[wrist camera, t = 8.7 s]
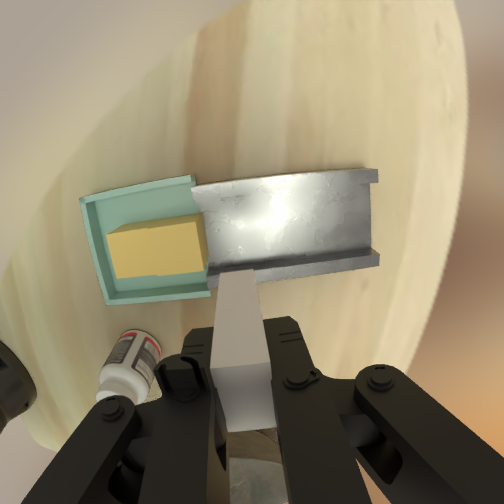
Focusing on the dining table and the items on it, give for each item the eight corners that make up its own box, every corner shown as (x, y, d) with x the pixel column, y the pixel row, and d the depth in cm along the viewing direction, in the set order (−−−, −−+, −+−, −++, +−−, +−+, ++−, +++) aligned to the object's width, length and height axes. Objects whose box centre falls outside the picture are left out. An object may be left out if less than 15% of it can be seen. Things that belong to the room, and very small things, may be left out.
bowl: (152, 441, 37) (140, 490, 27) (203, 376, 33) (194, 440, 23) (251, 474, 40) (253, 519, 31) (321, 420, 36) (336, 474, 27)
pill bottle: (119, 358, 32) (91, 413, 22) (120, 323, 30) (85, 377, 21) (160, 369, 32) (141, 429, 23) (164, 335, 31) (141, 395, 21)
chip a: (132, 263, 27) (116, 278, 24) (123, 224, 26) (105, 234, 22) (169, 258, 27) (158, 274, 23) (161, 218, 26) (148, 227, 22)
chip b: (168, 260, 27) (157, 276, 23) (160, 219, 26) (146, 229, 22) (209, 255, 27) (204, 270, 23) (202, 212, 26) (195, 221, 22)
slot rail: (211, 276, 29) (208, 288, 26) (196, 184, 26) (190, 187, 23) (367, 255, 29) (379, 265, 26) (364, 167, 26) (377, 169, 23)
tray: (115, 295, 29) (106, 305, 27) (91, 194, 26) (79, 198, 23) (212, 285, 29) (210, 296, 27) (195, 173, 26) (190, 175, 23)
